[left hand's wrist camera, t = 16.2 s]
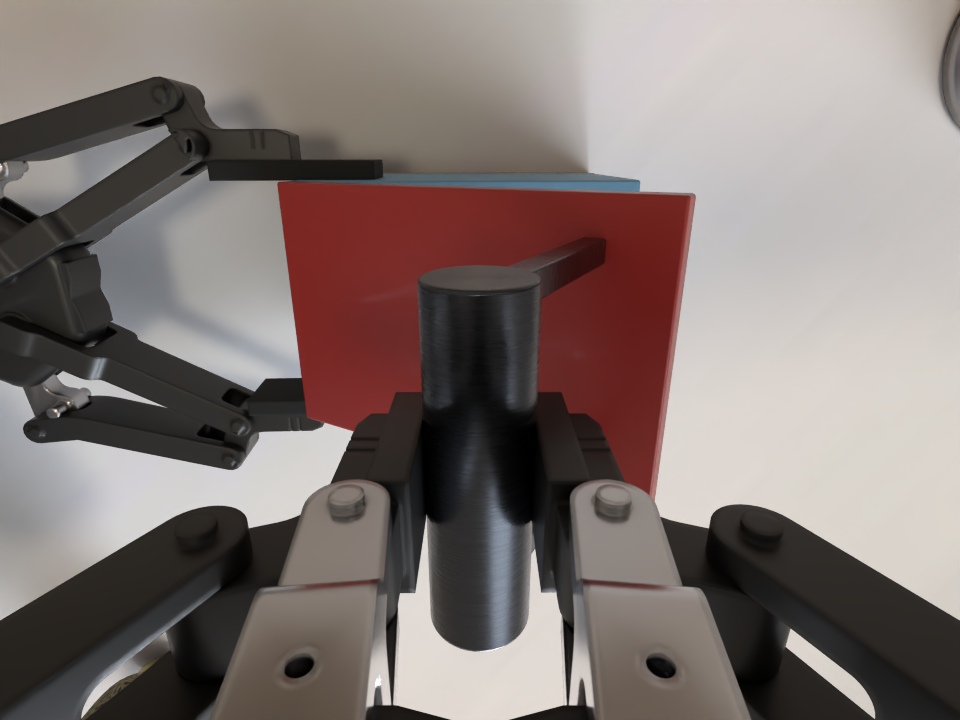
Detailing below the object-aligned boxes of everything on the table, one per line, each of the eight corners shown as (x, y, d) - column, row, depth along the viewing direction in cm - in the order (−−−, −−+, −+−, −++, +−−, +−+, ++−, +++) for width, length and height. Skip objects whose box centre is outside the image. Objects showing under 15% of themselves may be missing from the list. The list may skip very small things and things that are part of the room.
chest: (589, 172, 30) (641, 179, 21) (577, 340, 33) (619, 402, 25) (336, 173, 29) (289, 180, 21) (351, 344, 32) (316, 408, 24)
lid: (696, 193, 14) (597, 231, 7) (654, 503, 18) (558, 737, 11) (295, 181, 21) (36, 194, 14) (321, 409, 24) (124, 514, 17)
